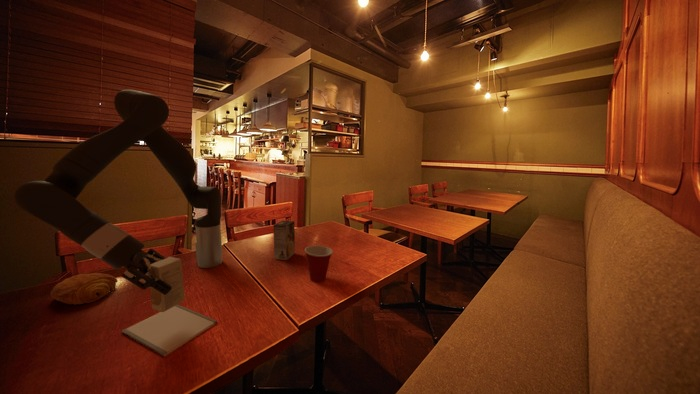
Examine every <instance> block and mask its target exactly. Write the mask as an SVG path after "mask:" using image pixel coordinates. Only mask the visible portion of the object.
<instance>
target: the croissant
mask: <svg viewBox="0 0 700 394" xmlns="http://www.w3.org/2000/svg"><path fill="white" fill-rule="evenodd" d="M118 281H119V280H118V279H117V278H116V277H115V276H113V275H111V274H108V273H104V272H102V273H101V272H100V273H98V272H97V273H96V272H95V273H93V272H92V273H79V274H77V275H73V276H70V277H67V278H65V279H63V280H62V281H61V282H58V283H57V284H56V285H54V286H53V288H52V290H51V291H50V296H51V299H54V300H56V301H58V302H61V303H64V304H66V305H72V304H73V306H74V305H75V306H76V305H77V304H78V305H84V303H85V304H88V303H93V302H96V300H97V301H98V300H100V299H102V298H104V297H106V296H107V295H108V294H109V293H110V292H109V291H111V292H113V291H114V290H115V289H116V287H117V283H118ZM113 289H114V290H113ZM112 290H113V291H112ZM105 295H106V296H105Z"/></svg>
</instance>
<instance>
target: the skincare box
mask: <svg viewBox="0 0 700 394" xmlns="http://www.w3.org/2000/svg"><path fill="white" fill-rule="evenodd" d="M182 263H183V262H182V258H178V257H173V256H168V257H165V259H163V260H160V261H157V262H155V263H152V264H150V265H151V266H152V268H153V269H154V271H155V275H156V276H157V277H158V278H159V279H161V280H162V281H164V282H165V283H167V284H168V285H170V286H171V287H172V289H171V290H170V291H169V292H168V293H167V294H165V295H164V294H162V293H161V292H159V291H157V290H156V289H154V288H153V287H151V288H149V291H150V302H151V308H152V310H155V311H158V312H159V313H160V312H165V311H167V310H168V309H170V308H172V307H174V306H176V305H177V304H178V305H180V304H181V303H182V302H184V301H185V300H186V298H185V286H184V285H185V284H184V275H183V266H182ZM150 278H151V277H150Z"/></svg>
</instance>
